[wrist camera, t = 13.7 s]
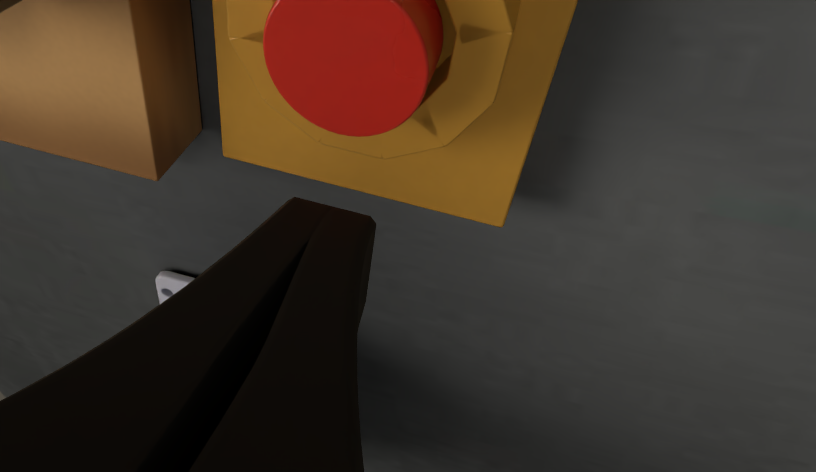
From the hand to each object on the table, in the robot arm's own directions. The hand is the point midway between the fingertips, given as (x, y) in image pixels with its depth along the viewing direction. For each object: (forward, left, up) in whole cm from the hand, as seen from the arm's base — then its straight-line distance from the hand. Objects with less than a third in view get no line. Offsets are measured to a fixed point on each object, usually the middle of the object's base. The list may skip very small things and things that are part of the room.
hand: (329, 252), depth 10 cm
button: (+1, +1, -6) cm, 7 cm away
